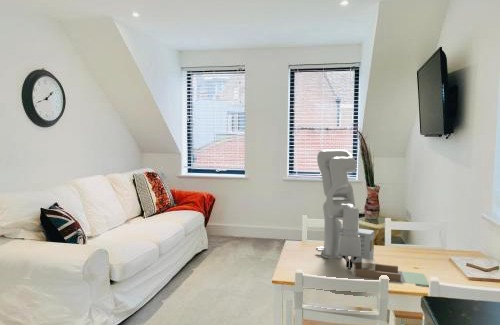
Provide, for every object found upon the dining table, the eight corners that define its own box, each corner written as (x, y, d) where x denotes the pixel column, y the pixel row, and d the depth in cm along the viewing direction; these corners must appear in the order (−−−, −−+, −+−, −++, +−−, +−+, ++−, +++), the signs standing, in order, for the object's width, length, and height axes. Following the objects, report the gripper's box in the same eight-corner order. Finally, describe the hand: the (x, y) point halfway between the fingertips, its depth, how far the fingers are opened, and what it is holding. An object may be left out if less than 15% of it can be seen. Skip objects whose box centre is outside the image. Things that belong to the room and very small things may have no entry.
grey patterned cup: (361, 274, 170) (362, 262, 170) (361, 270, 176) (361, 258, 176) (374, 275, 169) (375, 263, 168) (374, 271, 174) (374, 259, 174)
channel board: (355, 278, 167) (355, 270, 167) (355, 267, 181) (355, 260, 180) (429, 286, 158) (430, 278, 158) (423, 274, 172) (424, 267, 172)
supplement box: (369, 266, 183) (370, 234, 181) (351, 262, 188) (352, 231, 186) (373, 260, 191) (374, 230, 189) (356, 257, 196) (357, 227, 194)
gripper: (334, 232, 172) (333, 269, 173) (366, 235, 168) (365, 273, 169) (334, 229, 179) (334, 264, 180) (366, 231, 175) (364, 267, 176)
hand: (349, 268), depth 175 cm, fingers closed
